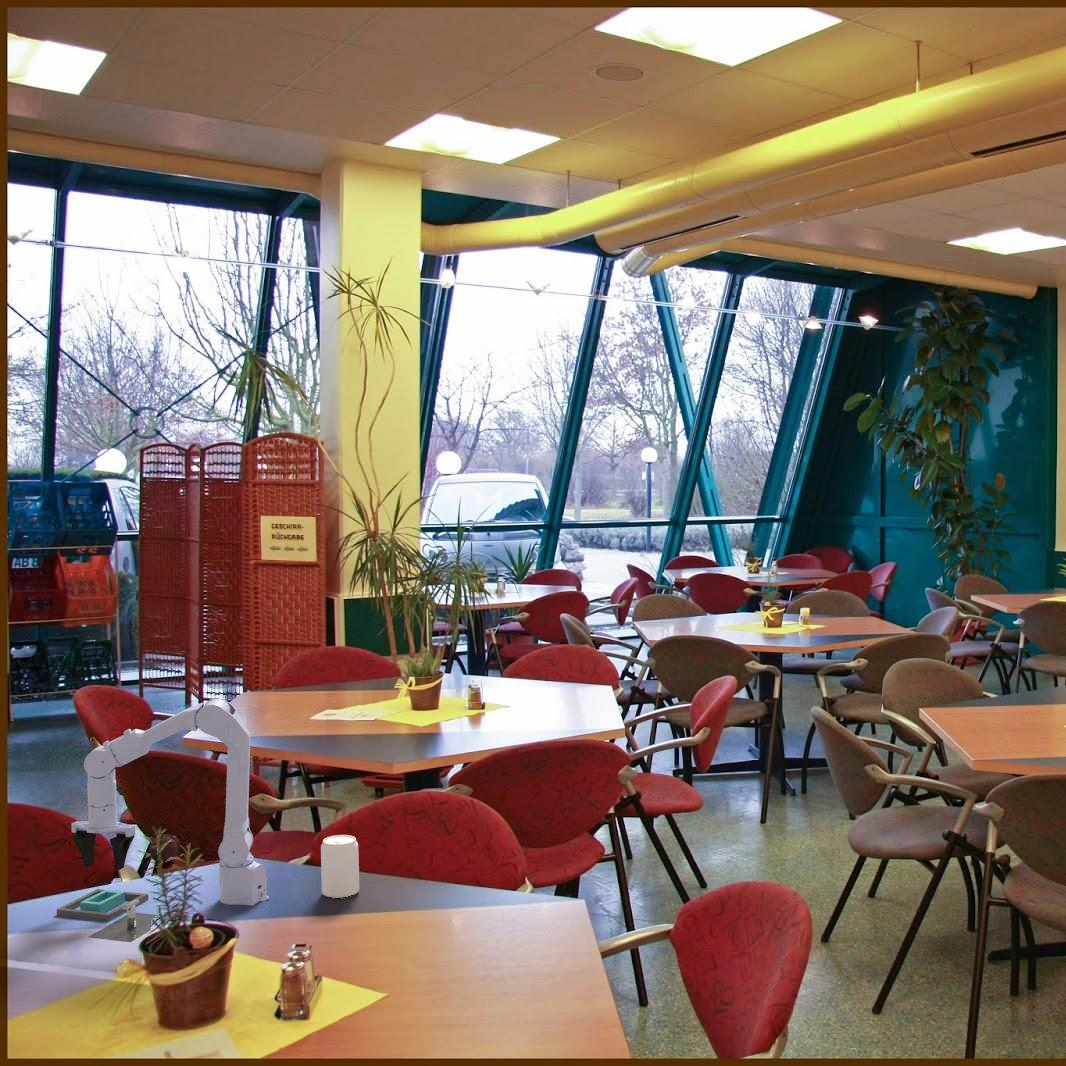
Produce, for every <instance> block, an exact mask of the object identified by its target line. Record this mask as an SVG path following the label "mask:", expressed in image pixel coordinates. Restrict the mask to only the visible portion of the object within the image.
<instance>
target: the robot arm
mask: <svg viewBox="0 0 1066 1066" xmlns="http://www.w3.org/2000/svg"><path fill="white" fill-rule="evenodd" d="M204 703H205V702H201V703H198V704H195V705H192V706H190V707H188V708H185V709H184V710H182V711H180V712H177V713H176V714H174V715H172V716H171V717H169V718H167V719H164V720H163V721H162V722H159V723H157V724H155V725H154V726H152V727H150V728H148V729H146V730H142V729H138V728H135V729H131V728H128V729H126V730H125V731H124V732H123V735H121V736H118V737H117V738H115V739H113V740H111V741H109V740H106V741H104V742H102V745H99V746H97V747H95V748H94V749H92V750H91V752H90V753H88V754H87V755H86V757H85V759H84V760H83V761H84V762H83V769H84V771H85V773H86V774H87V786H86V787H87V814H88V815H87V817H88V818H87V819H88V821H87V820H86V821H84V820H83V821H80V820H77V821H75V822H72V823H71V833H74V834H75V835H73V836H72V842H73V843H74V844H75V846H76V847H77V850H78V851H79V853H80V855H81V858H82V859H81V860H82V862H83V866H84V868H86V869H87V868H89V867H92V866H94V864H95V845H96V844H95V843H96V840H97V834H100V835H112V836H114V837H111V838H109V843H110V846H111V849H112V853H113V864H114V865H113V866H114V870H115V871H120V870H122V869H124V868H125V863H126V859H127V855H128V852H129V849H130V847H131V845H132V843H133V840H134V839H135V836H136V826H135V825H133V824H132V825H131V824H128V823H123V822H119V821H118V805H117V804H118V800H117V799H118V797H117V780H116V769H115V768H116V767H117V768H119V767H123V766H124V765H127V764H129V763H131V762H132V761H134V760H136V759H138V758H140V757H142V756H145V755H147V754H149V752H150V748H151V745H153V744H155V743H157V742H159V741H162V740H164V739H166V738H168V737H170V736H172V735H174V734H177V733H178V732H181V731H184V730H188V731H192V732H197V731H198V729H199V730H200V731H201V732H203V733H204V734H205V735H209V736H212V737H214V738H217V739H218V740H219V741H221V743H223V744H224V745H225V746H226V747H227V758H226V788H225V790H226V793H225V796H226V797H225V821H224V827H223V838H222V841H221V842H220V844H219V845H218V846H219V847H218V850H217V854H218V857H219V862H218V865H219V866H218V867H219V868H218V869H219V899H220V900H219V901H220V903H222V904H224V905H235V906H237V905H243V906H255V905H256V904H257V903H259V902H266V901H267V900H269V898H270V897H269V896H268V884H267V882H268V881H267V876H268V875H267V868H266V867H265V865H264V864H262V863H259V862H256V861H255V857H254V856H253V855H252V853H251V852H250V850H251V848H252V846H253V844H254V835H253V833H252V831H251V829H250V817H249V800H250V799H249V796H250V768H251V767H250V766H251V764H250V763H251V759H250V758H251V733H250V732H249V729H248V728H247V726H246V724H245V723H244V721H243V719H242V718H241V716H240V715H239V713H238V710H237V707H235V706H234V705H233V704H232V703H231V702H229V701H228V700H226V699H225V698H223V697H213V698H211V699H209V700H207V701H206V703H205V704H204ZM202 706H203V707H202Z"/></svg>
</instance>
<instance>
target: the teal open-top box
mask: <svg viewBox="0 0 1066 1066" xmlns="http://www.w3.org/2000/svg"><path fill="white" fill-rule="evenodd" d="M103 890H104V891H102V892H100V893H98V894H96V895H94V896H92V897H90V898H88V899H86V900H84V901H82V902H80V906H79V907H80V908H79V910H85V911H94V912H104V913H108V912H110V911H112V910H114V909H116V908H118V907H120V905H121V906H122V905H124V904H126V899H125V892H126V891H123V892H121V891H122V890H121V891H120V890H113V889H112V890H113V891H112V890H110V889H103Z"/></svg>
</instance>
